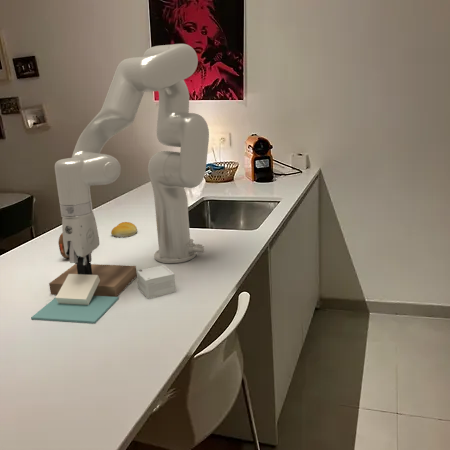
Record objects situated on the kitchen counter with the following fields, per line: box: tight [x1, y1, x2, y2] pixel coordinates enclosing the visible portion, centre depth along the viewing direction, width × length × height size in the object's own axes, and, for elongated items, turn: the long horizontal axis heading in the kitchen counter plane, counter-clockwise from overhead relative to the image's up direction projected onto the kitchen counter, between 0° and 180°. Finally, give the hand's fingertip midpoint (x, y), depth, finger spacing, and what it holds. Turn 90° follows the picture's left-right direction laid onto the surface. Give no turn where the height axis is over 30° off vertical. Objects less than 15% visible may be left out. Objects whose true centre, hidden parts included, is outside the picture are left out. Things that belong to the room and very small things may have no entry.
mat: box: [31, 296, 119, 324], centre depth 123 cm, size 16×13×1 cm
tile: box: [55, 274, 100, 305], centre depth 127 cm, size 8×8×2 cm
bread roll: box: [110, 221, 138, 239], centre depth 179 cm, size 8×9×4 cm
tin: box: [58, 232, 70, 259], centre depth 161 cm, size 15×3×8 cm, turn 168°
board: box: [48, 263, 137, 297], centre depth 136 cm, size 18×14×3 cm
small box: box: [136, 264, 177, 299], centre depth 131 cm, size 8×8×5 cm
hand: (85, 278), depth 132 cm, fingers closed
